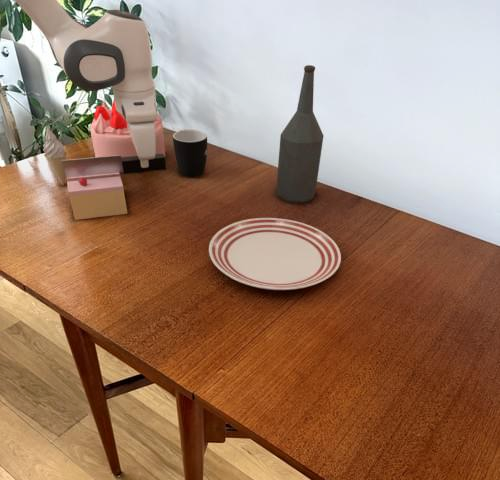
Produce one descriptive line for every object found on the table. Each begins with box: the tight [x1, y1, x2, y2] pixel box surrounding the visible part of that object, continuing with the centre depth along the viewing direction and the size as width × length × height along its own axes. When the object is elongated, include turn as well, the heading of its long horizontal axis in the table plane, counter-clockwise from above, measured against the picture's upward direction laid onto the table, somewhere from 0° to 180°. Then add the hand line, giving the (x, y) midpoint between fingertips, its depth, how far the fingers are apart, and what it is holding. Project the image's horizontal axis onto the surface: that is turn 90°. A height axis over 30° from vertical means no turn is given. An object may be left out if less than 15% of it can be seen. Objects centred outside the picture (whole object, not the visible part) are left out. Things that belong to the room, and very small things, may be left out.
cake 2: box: [89, 100, 166, 157], centre depth 129 cm, size 20×20×14 cm
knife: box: [62, 154, 167, 179], centre depth 108 cm, size 23×2×4 cm, turn 108°
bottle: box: [275, 64, 324, 204], centre depth 110 cm, size 10×10×30 cm
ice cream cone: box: [42, 125, 67, 186], centre depth 115 cm, size 5×5×15 cm
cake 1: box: [66, 172, 128, 221], centre depth 110 cm, size 12×12×9 cm
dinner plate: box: [208, 217, 342, 291], centre depth 97 cm, size 28×27×3 cm
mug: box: [172, 128, 208, 178], centre depth 126 cm, size 12×9×10 cm
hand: (143, 163), depth 110 cm, fingers closed on knife, 2 cm apart
